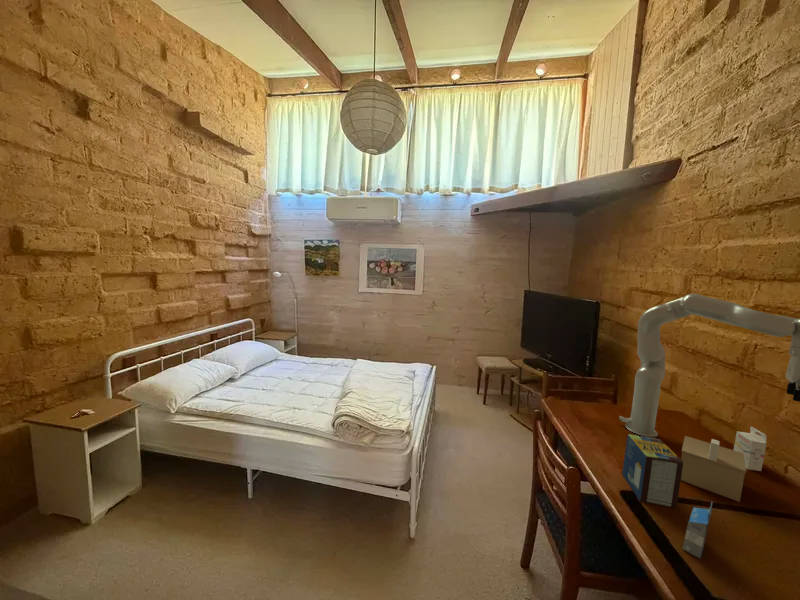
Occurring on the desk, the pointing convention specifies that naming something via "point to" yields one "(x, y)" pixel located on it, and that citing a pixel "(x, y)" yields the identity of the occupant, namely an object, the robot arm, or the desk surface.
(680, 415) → the desk surface
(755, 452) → the ink cartridge box
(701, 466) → the carton
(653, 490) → the protein box
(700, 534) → the label tape box
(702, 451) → the carton flap
